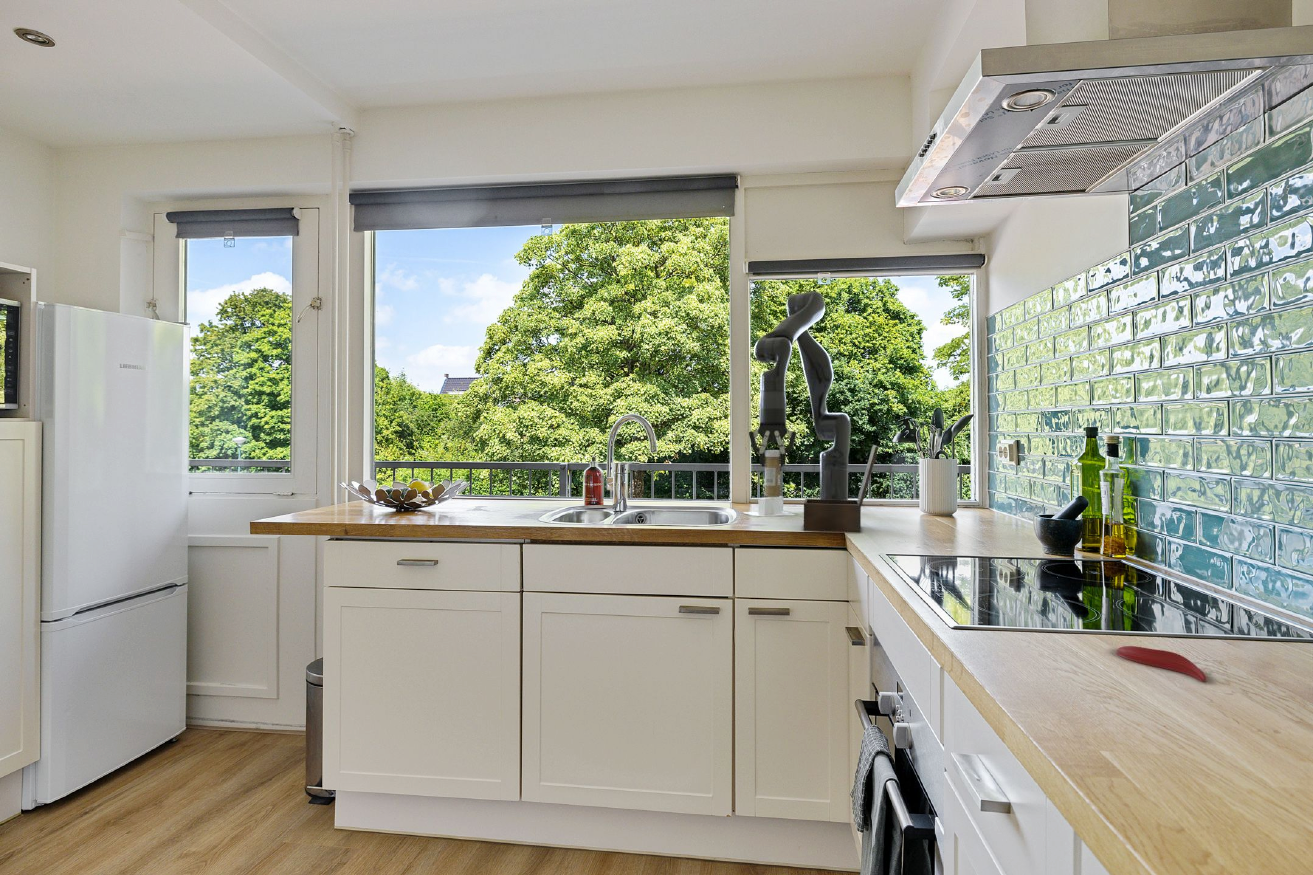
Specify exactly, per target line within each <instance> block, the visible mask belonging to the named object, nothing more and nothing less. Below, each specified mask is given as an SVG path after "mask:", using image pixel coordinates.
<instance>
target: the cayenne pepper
mask: <svg viewBox="0 0 1313 875" xmlns="http://www.w3.org/2000/svg"><path fill="white" fill-rule="evenodd" d="M1115 651H1116V655H1118V656H1120V657H1121V658H1124V659H1126V660H1129V661H1132V662H1136V663H1139V664H1142V665H1147V666H1152V667H1156V668H1161V669H1164V670H1165V669H1166V670H1169V671H1174V672H1178V673H1182V674H1185V675H1188V676H1190V677H1194V678H1195V679H1197V680H1199V681H1200V682H1203V683H1205V682H1207V676H1206V675H1205V673H1204V671H1203V670H1201V669H1200V668H1199V667H1198V666H1197V665H1196V663H1194V662H1193V661H1191V660H1189V659H1188V658H1187V657H1185V656H1183V655H1182V654H1179V653H1176V652H1173V651H1169V650H1163V649H1155V648H1148V647H1143V646H1136V645H1135V646H1134V645H1124V646H1119V647H1118V648H1117V650H1115Z"/></svg>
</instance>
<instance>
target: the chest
mask: <svg viewBox="0 0 1313 875" xmlns="http://www.w3.org/2000/svg"><path fill="white" fill-rule="evenodd" d="M861 526H862V505H860V503H859V500H858V499H848V500H833V499H820V498H805V499H804V501H803V531H804V532H822V533H823V532H826V533H827V532H828V533H853V534H854V533H856V534H861V533H862V532H861V531H862V530H861V529H862V528H861Z"/></svg>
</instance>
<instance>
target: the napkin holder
mask: <svg viewBox="0 0 1313 875" xmlns="http://www.w3.org/2000/svg"><path fill="white" fill-rule="evenodd" d="M757 500H758V502H757V503H758V504H757V506H758V507H757V510H758V511H743V512H741V513H742V514H744V515H745V514H746V515H749V516H752V517H776V516H777V517H780V516H796V514H795V513H792V512H788V511H784V496H783V495H780V497H766V496H764V497H761V498H758V499H757Z"/></svg>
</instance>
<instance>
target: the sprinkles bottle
mask: <svg viewBox="0 0 1313 875" xmlns="http://www.w3.org/2000/svg"><path fill="white" fill-rule="evenodd" d="M764 454H765V467H764V497H766V498H769V497H780V496H781V467H780V454H781V451H780V449H765V451H764Z"/></svg>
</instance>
